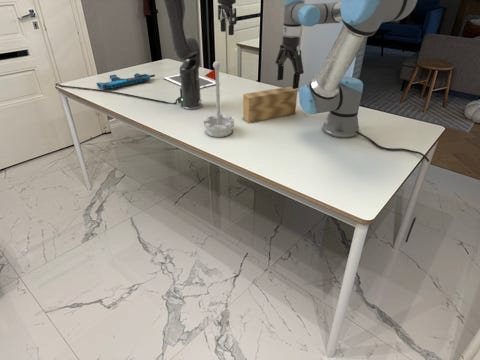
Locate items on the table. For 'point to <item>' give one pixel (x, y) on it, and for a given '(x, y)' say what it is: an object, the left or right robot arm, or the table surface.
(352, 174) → the table surface
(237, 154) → the table surface
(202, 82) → the tablet
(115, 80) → the submachine gun
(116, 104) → the table surface
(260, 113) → the box
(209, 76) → the flag stand
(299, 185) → the table surface
